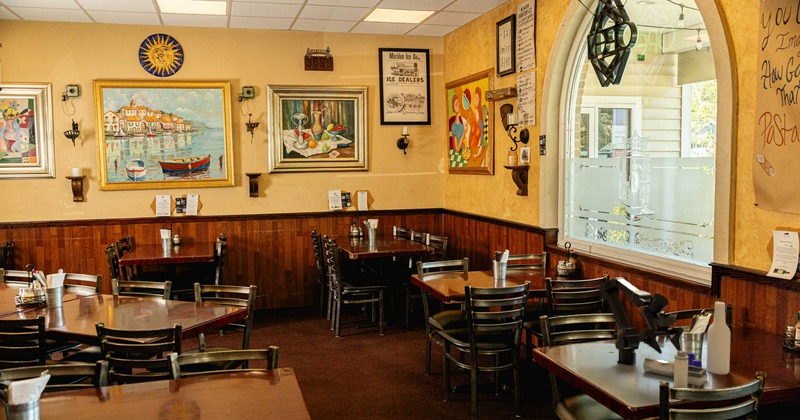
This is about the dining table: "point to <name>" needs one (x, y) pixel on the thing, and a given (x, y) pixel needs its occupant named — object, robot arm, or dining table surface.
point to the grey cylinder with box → (667, 369)
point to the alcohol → (718, 342)
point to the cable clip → (693, 360)
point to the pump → (680, 370)
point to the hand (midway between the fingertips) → (670, 352)
